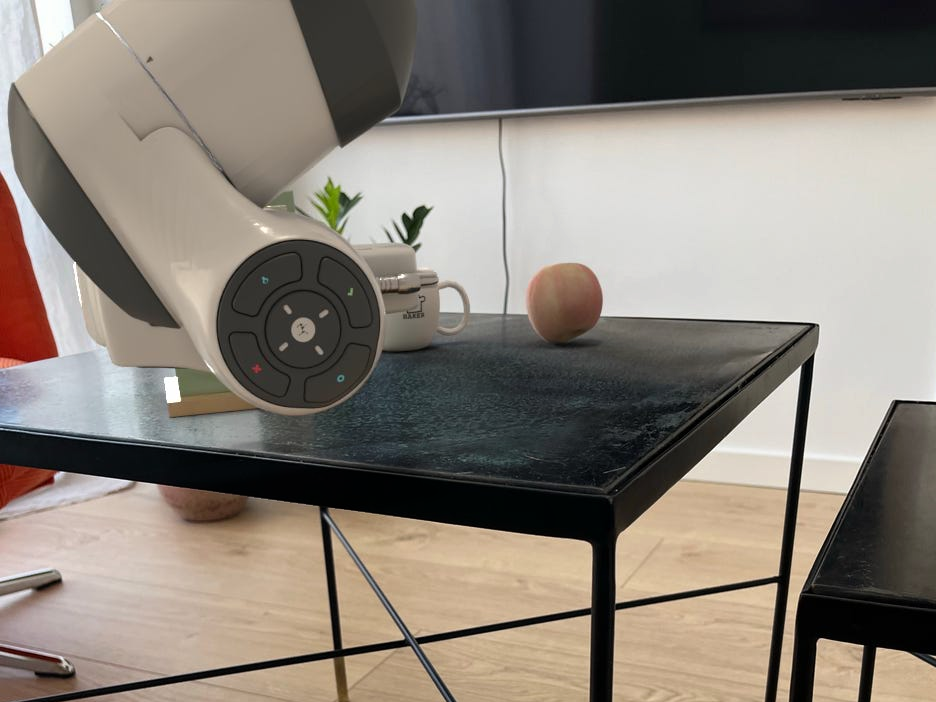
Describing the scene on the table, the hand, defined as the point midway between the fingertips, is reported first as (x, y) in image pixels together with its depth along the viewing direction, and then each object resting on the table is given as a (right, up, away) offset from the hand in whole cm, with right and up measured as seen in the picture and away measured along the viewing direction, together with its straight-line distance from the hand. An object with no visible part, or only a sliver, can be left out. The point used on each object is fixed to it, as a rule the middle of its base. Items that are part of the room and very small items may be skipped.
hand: (243, 276), depth 68 cm
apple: (+25, +7, +39) cm, 46 cm away
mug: (+9, +7, +42) cm, 43 cm away
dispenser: (-4, -3, +20) cm, 21 cm away
